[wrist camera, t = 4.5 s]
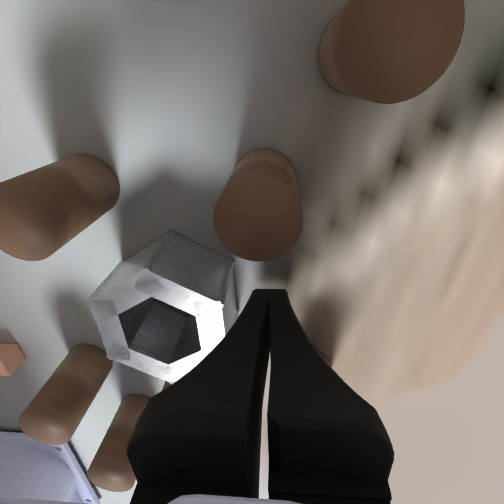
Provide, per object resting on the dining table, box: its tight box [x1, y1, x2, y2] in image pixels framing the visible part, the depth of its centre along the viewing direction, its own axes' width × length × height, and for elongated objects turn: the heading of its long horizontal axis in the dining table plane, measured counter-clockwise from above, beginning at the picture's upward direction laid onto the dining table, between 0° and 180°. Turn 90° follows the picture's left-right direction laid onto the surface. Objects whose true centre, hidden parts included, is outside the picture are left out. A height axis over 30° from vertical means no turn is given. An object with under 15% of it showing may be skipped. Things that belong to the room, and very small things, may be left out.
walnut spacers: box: [0, 0, 465, 492], centre depth 13 cm, size 20×18×4 cm
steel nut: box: [86, 231, 239, 384], centre depth 14 cm, size 6×5×3 cm
